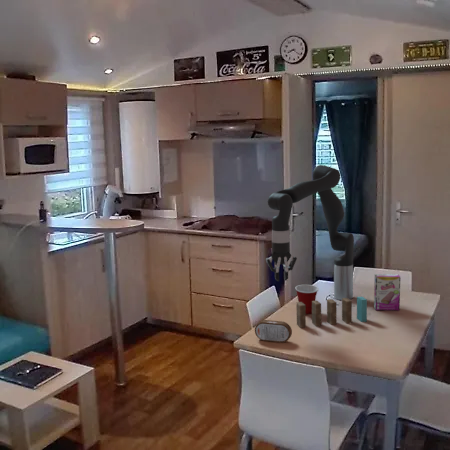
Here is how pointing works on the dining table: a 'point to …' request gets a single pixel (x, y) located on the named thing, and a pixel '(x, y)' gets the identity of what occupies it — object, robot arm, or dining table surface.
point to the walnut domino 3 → (331, 312)
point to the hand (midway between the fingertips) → (281, 280)
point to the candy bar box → (387, 292)
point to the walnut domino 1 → (301, 315)
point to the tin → (273, 331)
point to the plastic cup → (306, 295)
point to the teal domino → (362, 309)
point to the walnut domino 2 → (316, 313)
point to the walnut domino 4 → (346, 310)
